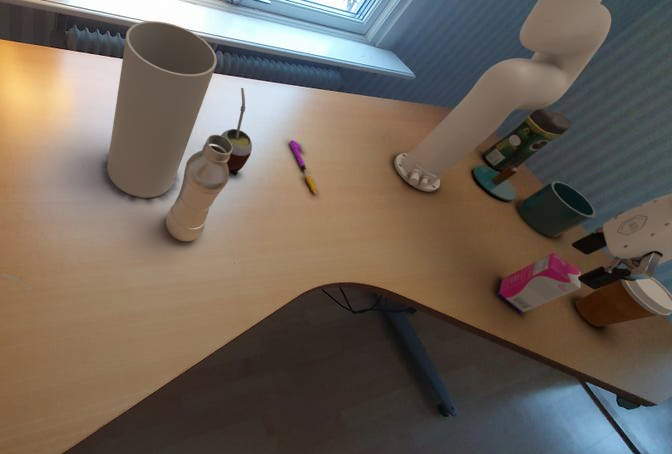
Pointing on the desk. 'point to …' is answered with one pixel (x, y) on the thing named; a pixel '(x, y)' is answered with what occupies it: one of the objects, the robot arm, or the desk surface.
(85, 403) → the desk surface
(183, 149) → the cylinder vase
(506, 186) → the pot lid
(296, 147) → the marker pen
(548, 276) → the supplement box
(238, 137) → the mate gourd
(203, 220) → the plastic bottle
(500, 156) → the coffee jar
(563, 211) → the pot
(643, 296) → the disposable coffee cup
